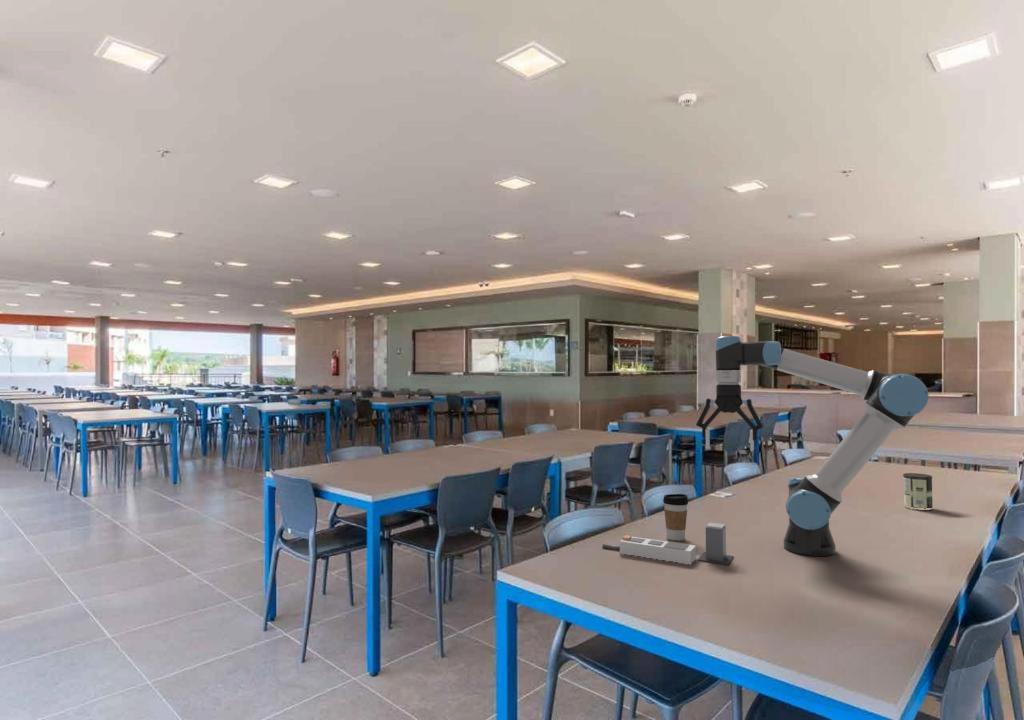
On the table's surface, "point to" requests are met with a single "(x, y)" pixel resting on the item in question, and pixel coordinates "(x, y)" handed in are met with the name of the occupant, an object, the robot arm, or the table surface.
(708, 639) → the table surface
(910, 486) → the coffee can
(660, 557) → the power strip
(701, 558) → the mat
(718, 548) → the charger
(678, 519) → the coffee cup
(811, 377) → the robot arm
